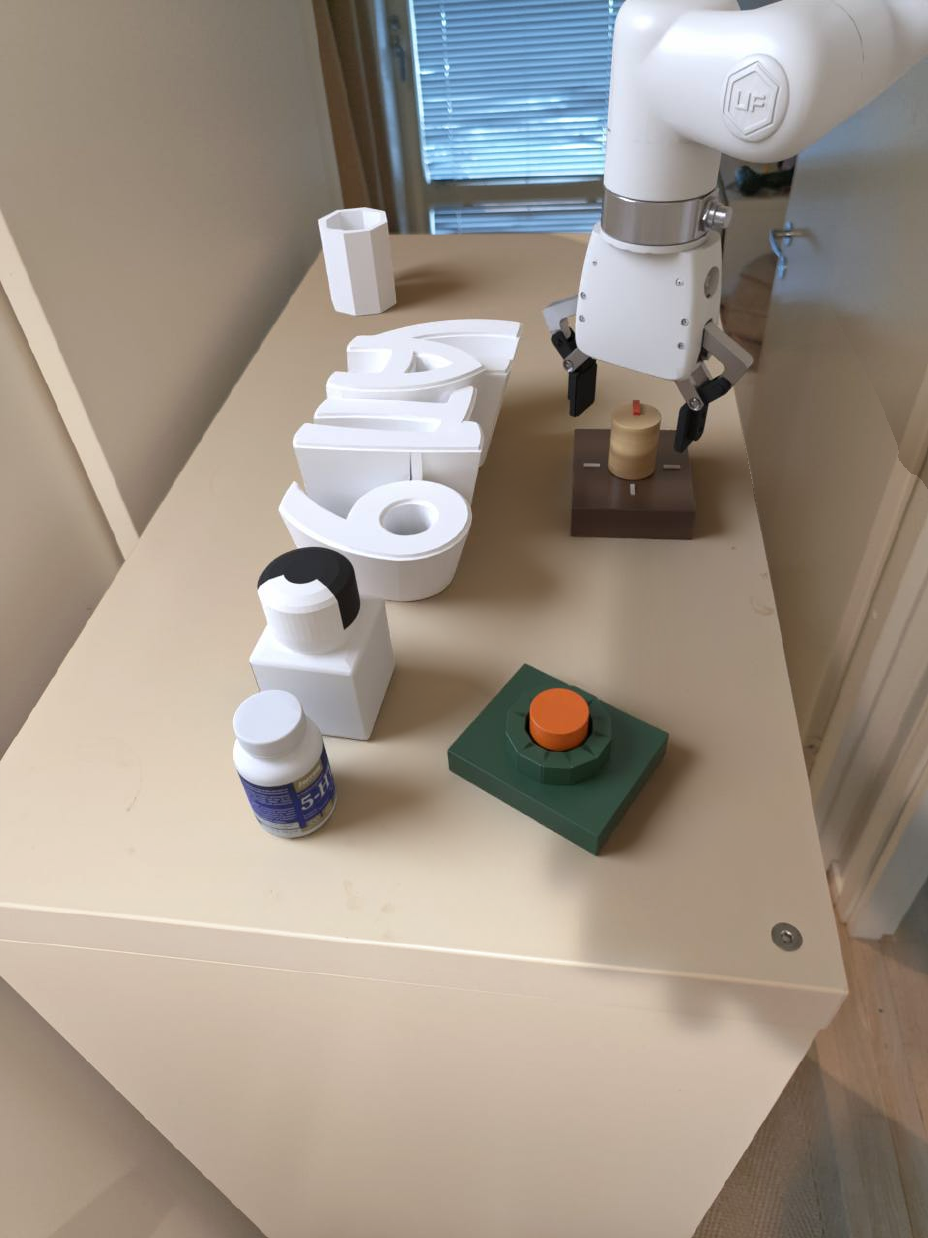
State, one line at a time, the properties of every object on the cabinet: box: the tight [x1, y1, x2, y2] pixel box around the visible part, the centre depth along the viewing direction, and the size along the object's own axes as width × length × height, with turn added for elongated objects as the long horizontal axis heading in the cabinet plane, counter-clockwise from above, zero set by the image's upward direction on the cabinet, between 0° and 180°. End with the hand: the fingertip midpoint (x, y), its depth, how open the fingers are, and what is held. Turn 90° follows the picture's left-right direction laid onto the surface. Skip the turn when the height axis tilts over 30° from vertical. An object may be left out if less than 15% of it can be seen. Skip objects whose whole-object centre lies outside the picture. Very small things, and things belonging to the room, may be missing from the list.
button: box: [530, 688, 589, 751], centre depth 52 cm, size 4×4×2 cm
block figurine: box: [249, 547, 396, 741], centre depth 56 cm, size 7×7×12 cm
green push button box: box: [446, 663, 670, 857], centre depth 54 cm, size 11×9×4 cm
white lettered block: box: [278, 318, 524, 602], centre depth 73 cm, size 35×16×11 cm, turn 167°
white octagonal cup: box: [317, 207, 398, 317], centre depth 104 cm, size 12×9×10 cm
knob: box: [608, 399, 662, 480], centre depth 71 cm, size 4×4×5 cm
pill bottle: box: [232, 690, 338, 839], centre depth 51 cm, size 5×5×9 cm
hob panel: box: [569, 428, 697, 540], centre depth 74 cm, size 12×10×3 cm
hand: (632, 426), depth 70 cm, fingers open, 9 cm apart
